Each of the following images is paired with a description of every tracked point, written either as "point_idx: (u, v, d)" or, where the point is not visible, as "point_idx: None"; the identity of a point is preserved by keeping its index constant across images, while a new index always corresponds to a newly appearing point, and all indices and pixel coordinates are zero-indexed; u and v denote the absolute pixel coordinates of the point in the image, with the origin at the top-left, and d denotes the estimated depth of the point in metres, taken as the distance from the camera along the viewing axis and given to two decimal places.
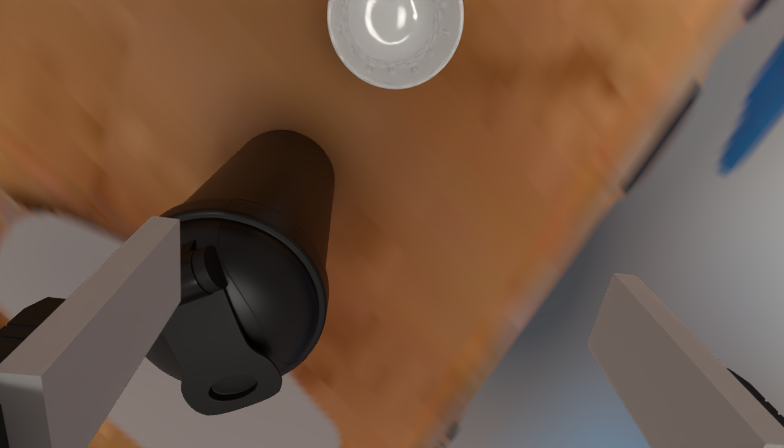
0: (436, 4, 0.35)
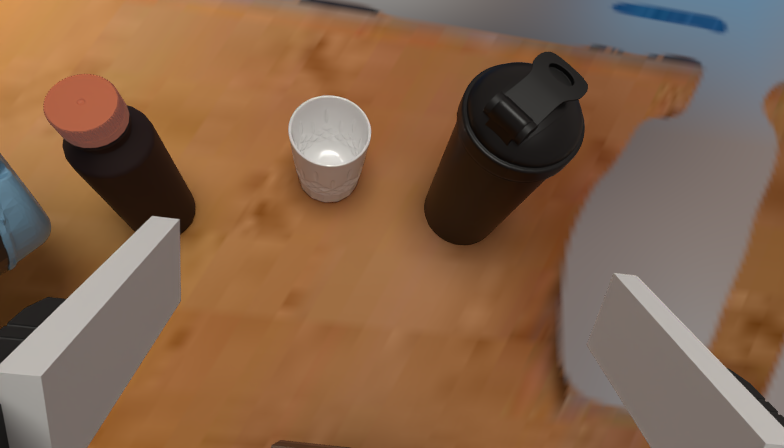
0: (312, 138, 0.55)
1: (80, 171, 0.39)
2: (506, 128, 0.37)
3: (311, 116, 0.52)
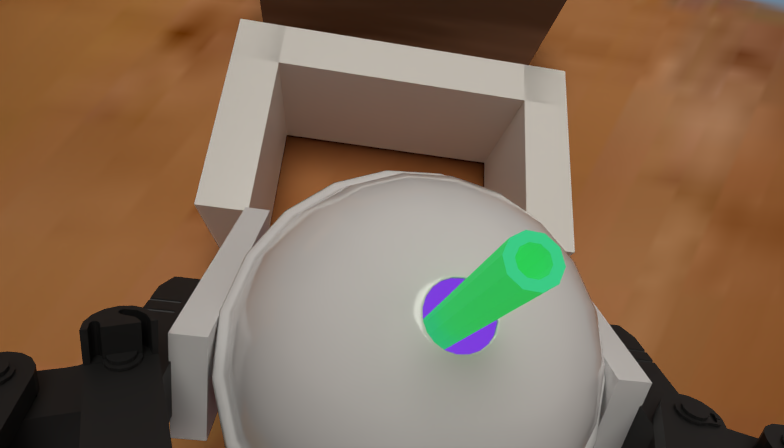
0: None
1: None
2: None
3: None
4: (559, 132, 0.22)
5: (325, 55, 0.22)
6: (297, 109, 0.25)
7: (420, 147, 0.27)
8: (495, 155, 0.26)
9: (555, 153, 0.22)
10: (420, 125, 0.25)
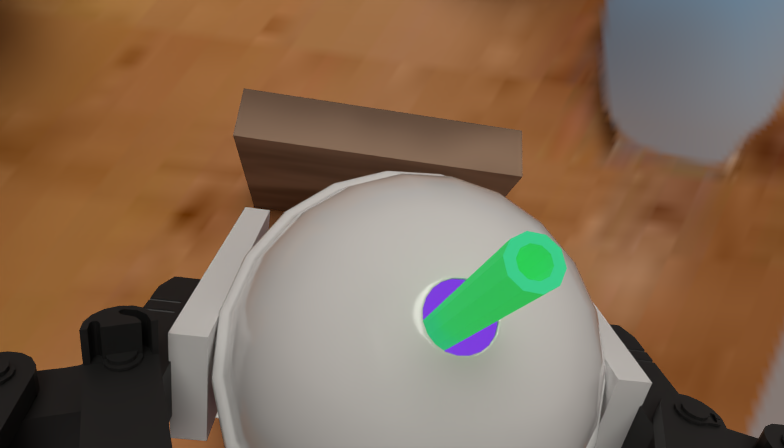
0: None
1: None
2: None
3: None
4: None
5: None
6: None
7: None
8: None
9: None
10: None
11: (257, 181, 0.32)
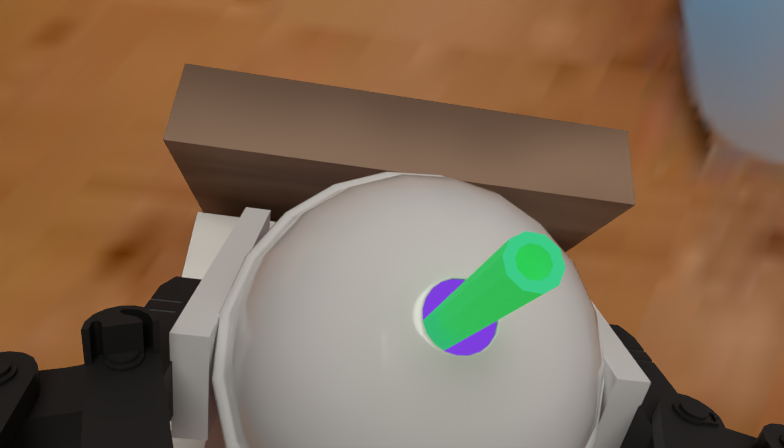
0: None
1: None
2: None
3: None
4: None
5: None
6: None
7: None
8: None
9: None
10: None
11: (216, 208, 0.21)
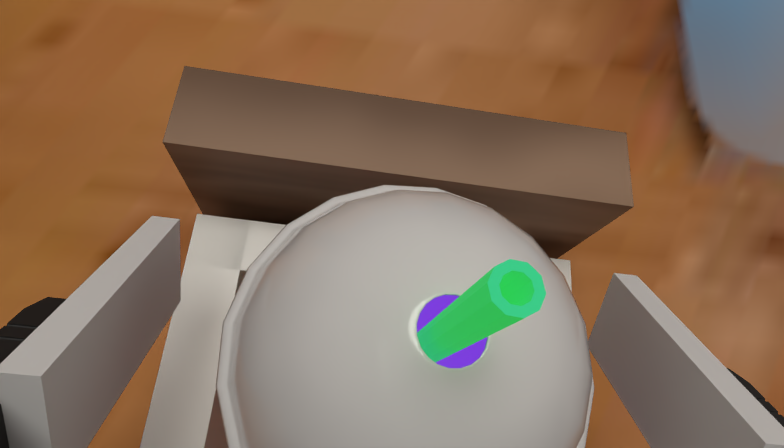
0: None
1: None
2: None
3: None
4: None
5: None
6: None
7: None
8: None
9: None
10: None
11: (216, 210, 0.21)
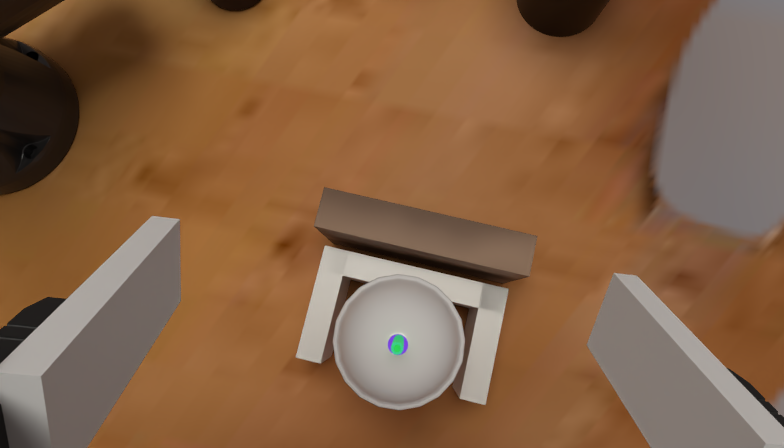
0: None
1: None
2: None
3: None
4: (494, 330, 0.39)
5: (368, 271, 0.40)
6: None
7: None
8: (470, 315, 0.44)
9: (488, 344, 0.39)
10: None
11: (333, 238, 0.43)
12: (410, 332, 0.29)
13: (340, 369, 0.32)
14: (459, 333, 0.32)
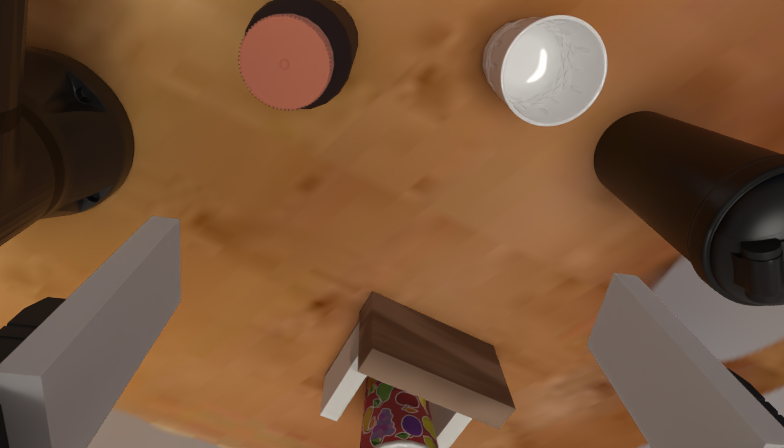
0: None
1: None
2: (748, 281, 0.31)
3: None
4: (462, 426, 0.56)
5: None
6: None
7: None
8: None
9: (455, 431, 0.56)
10: None
11: None
12: None
13: None
14: None
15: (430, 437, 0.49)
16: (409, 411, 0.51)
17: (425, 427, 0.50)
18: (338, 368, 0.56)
